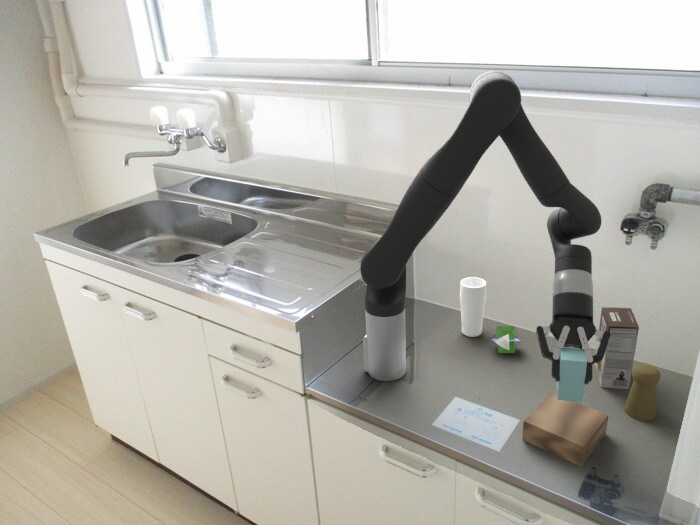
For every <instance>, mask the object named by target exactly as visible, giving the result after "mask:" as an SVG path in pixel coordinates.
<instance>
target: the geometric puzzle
mask: <svg viewBox="0 0 700 525" xmlns="http://www.w3.org/2000/svg"><path fill="white" fill-rule="evenodd" d="M496 328H497V330H495V332H494V333H493V335H492V337H491V338H490V340H492V343H493V345H494V348H495V350H496V352H497V354H516V351H517V350H516V349H517V348H516V347H517V346H518V347H520V345H518V344H520V343H521V342H522V339H521V337H520V335H518V332H517V330H516V327H515V325H511V326H505V325H504V326H497V327H496ZM496 333H497V334H496ZM494 334H495V335H494ZM515 334H516V335H518V336H519V337H520V338H519V337H516V336H515ZM496 336H497V338H496ZM516 342H518V343H516ZM515 343H516V344H515ZM496 344H497V346H496Z"/></svg>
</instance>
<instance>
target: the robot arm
mask: <svg viewBox="0 0 700 525" xmlns="http://www.w3.org/2000/svg"><path fill="white" fill-rule="evenodd" d="M468 98H469V104H468V107H467V109H466V110H465V113H464V115H463V116H462V118H461V119H460V121H459V123H458V124H457V126H456V128H455V129H454V131H453V132H452V134H451V135H450V136H449V137H448V139H447V140H446V141H445V142H444V143H443V144H442V145H440V147H439V148H437V149H436V151H434V152H433V154H432V155H430V156H429V158H428V159H427V160H426V161H425V163H424V164H422V166H421V168H420V169H419V171H418V172H417V174H416V175H415V176H414V178H413V180H412V181H411V183H410V184H409V186H408V188H407V190H406V191H405V193H404V195H403V197H402V198H401V201H400V203H399V205H398V207H397V209H396V211H395V213H394V215H393V217H392V219H391V221H390V223H389V225H388V227H387V228H386V230H385V231H384V233H383V234H382V235H381V237H380V238H379V239H376V240H375V241H373V242H372V243H371V244H370V245H369V246H368V248H367V250H366V251H365V253H364V255H363V257H362V258H361V261H360V275H361V278H362V280H363V282H364V283H365V284H366V288H365V297H364V309H365V310H364V311H365V313H364V314H365V332H366V333H365V335H364V336H363V338H362V341H363V342H362V343H363V344H362V346H363V365H364V367H363V368H364V372H366V373H368V374H369V376H370V377H371V378H372V379H374V380H376V381H381V382H393V381H396V380H400V379H401V378H402V377H404V376H405V375H406V372H407V362H406V360H407V358H406V357H407V354H406V353H407V352H406V350H407V348H406V346H407V345H406V295H407V263H408V262H409V260H410V258H411V256H412V255H413V253H414V251H415V250H416V248H417V247H418V246H419V244H420V243H421V242H422V240H423V239H424V238H425V237H426V236H427V235H428V233H430V231H431V230H432V229H433V228H434V226H435V225H436V224H437V223H438V222H439V220H440V219H441V218H442V217H443V215H444V214H445V213H446V211H447V210H448V208H449V207H450V206H451V205H452V203H453V202H454V200H455V199H456V197H457V196H458V194H460V191H461V190H462V188H463V187H464V185H465V184H466V183H467V181H468V179H469V178H470V176H471V175H472V174H473V171H474V170H475V169H476V168H477V167H476V166H477V165H478V163H479V162H480V161H481V158H482V157H483V155H484V154H485V153H486V151H487V150H488V149H489V148H490V147H491V145H492V144H494V142H495V141H496V140H497V139H498V138H499V137H500V139H501V140H502V142H503V143H504V145H505V146H506V148H507V149H508V151H509V153H510V154H511V156H512V158H513V160H514V162H515V164H516V166H517V168H518V170H519V171H520V173H521V175H522V177H523V178H524V180H525V182H526V184H527V185H528V186H529V189H530V190H531V192H533V194H534V195H535V197H536V199H537V200H538V202H539V203H540V205H541V206H543V207H546V208H557V209H554V210H552V212H551V213H549V215H548V218H547V222H546V227H547V228H546V229H547V232H548V235H549V239H550V242H551V246H552V250H553V254H554V279H553V284H552V293H551V295H552V318H551V322H550V324H549V325H547V326H542V325H537V326H536V329H535V335H536V338H537V341H538V345H539V348H540V353H541V356H542V358H543V359H547V360H549V361H550V363H551V378H552V379H554V381H555V382H556V383H557V382H559V381H560V361H559V357H560V350H562V349H563V348H572V347H573V348H576V349H582V350H583V351H584V352H585V353H586V359H587V367H586V376H585V382H584V383H585V386H586V385H588V384H589V383H590V382H592V380H593V365H595V363H600V362H601V361H602V359H603V357H604V354H605V351H606V348H607V345H608V341H609V338H610V335H611V334H610V332H609V331H605V332H603V331H600V330H599V329H597V327H596V326H595V324H594V285H593V284H594V283H593V276H592V274H593V272H592V267H593V265H592V263H593V261H592V260H593V259H592V258H593V257H592V252H591V250H590V249H589V248H588V247H587V246H586V245H581V244H572V240H576V239H580V238H584V237H588V236H591V235H594V234H597V233H598V232H599V230H600V229H601V227H602V215H601V213H600V211H599V209H598V207H597V206H596V204H595V203H594V202H593V201H592V200H590V198H588V197H587V196H586V195H585V194H584V193H582V191H580V189H578V188H577V186H574V185H573V184H572V183H571V182H570V179H569V178H568V177H567V175H566V174H565V172H564V171H563V168H562V167H561V165H560V163H559V162H558V161H557V159H556V158H555V156H554V155H553V153H552V152H551V151H550V149H549V148H548V147H547V145H546V144H545V142H544V141H543V140H542V138H541V137H540V136H539V134H538V132H537V131H536V130H535V128H534V127H533V125H532V123H531V122H530V120H529V118H528V116H527V114H526V112H525V110H524V108H523V105H522V94H521V90H520V88H519V87H518V85H517V84H516V82H515V80H514V79H513V78H512V77H511V76H510V75H508V74H507V73H504V72H503V71H498V70H489V71H486V72H483V73H482V74H480V75H479V76H477V77H476V78H475V80H474V81H473V82H472V84H471V87H470V91H469V96H468ZM549 333H551V334H552V336H553V337H554V338H555V340H556V341H557V343H556V346H555V349H554V351H553V352H552V351H550V349H549V346H548V341H547V338H548V337H549ZM594 336H596V342H600V344H599V347H598V350H597V349H596V350H597V353H596V352H595V355H593V354H592V352H591V348H590V344H589V341H590V340H591V339H592V338H593V337H594Z"/></svg>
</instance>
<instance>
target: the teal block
mask: <svg viewBox="0 0 700 525" xmlns="http://www.w3.org/2000/svg"><path fill="white" fill-rule="evenodd" d="M559 361H560V381H559V382H556V395H557V400H564V401H574V402H576V403H583V400H584V391H585V386H586V384H585V383H584V382H585V376H586V367H587V359H586V353H585V352H584V351H583V350H582V349H580V348H575V347H573V348H572V347H563V349H562V350H560V357H559Z"/></svg>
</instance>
